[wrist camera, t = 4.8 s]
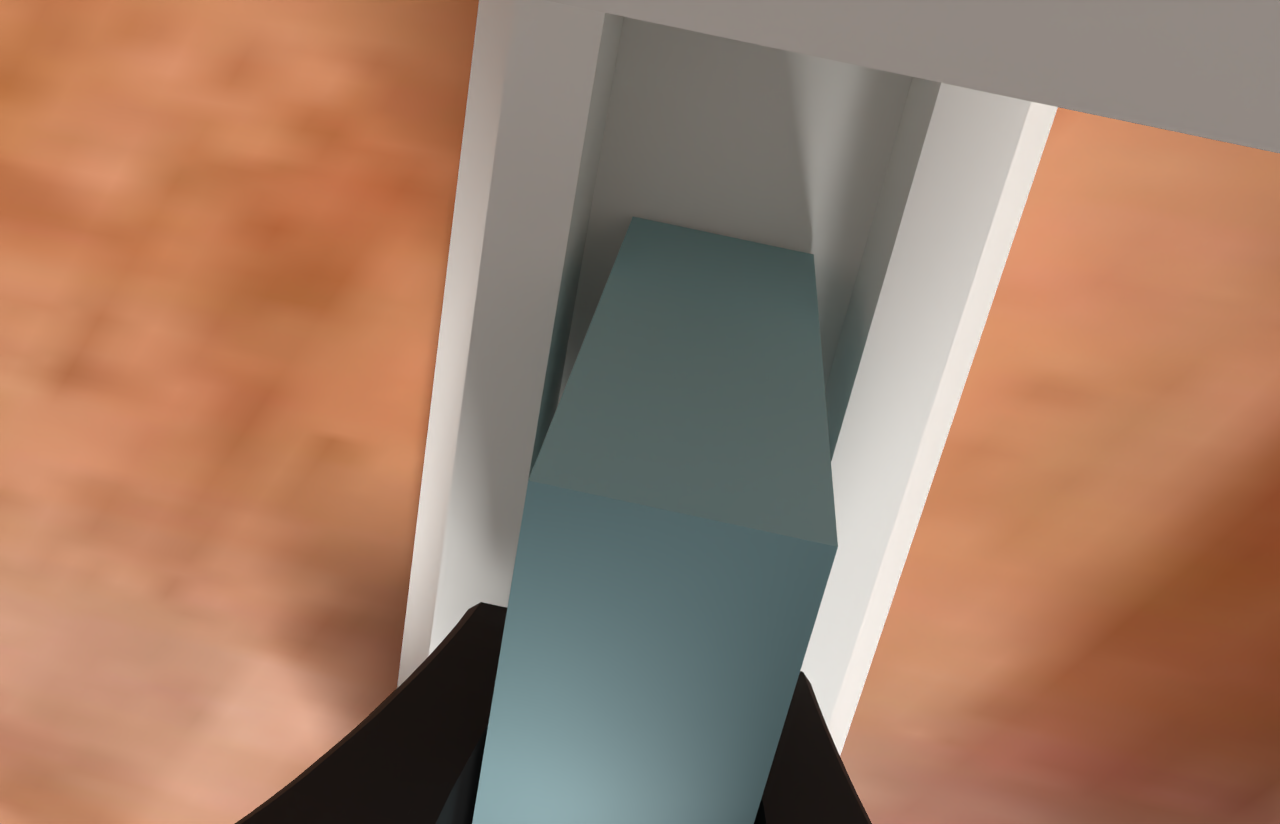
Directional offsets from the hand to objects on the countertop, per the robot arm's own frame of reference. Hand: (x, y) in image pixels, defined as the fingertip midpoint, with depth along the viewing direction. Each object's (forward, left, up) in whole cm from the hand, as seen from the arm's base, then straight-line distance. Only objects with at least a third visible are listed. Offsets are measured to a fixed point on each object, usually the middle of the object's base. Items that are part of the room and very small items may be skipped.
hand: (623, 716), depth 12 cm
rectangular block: (0, 0, -3) cm, 3 cm away
